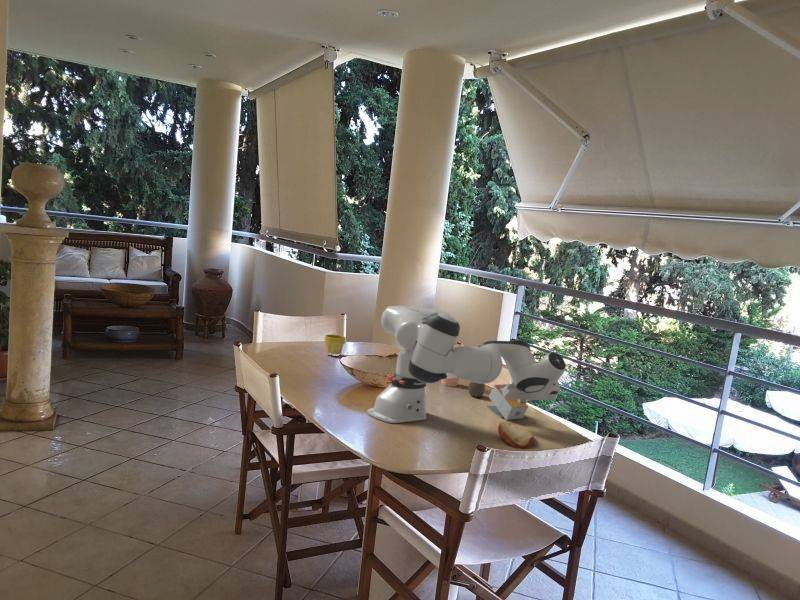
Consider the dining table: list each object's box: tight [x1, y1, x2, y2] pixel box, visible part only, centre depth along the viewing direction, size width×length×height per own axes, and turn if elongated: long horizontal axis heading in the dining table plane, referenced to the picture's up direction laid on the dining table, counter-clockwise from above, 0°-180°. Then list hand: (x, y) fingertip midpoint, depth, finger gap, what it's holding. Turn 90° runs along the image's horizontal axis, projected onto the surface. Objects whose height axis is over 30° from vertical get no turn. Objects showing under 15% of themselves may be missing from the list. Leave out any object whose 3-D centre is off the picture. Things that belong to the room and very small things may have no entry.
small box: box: [488, 383, 529, 421], centre depth 226 cm, size 8×6×13 cm
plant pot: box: [324, 333, 347, 355], centre depth 297 cm, size 10×10×10 cm
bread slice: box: [497, 421, 536, 450], centre depth 203 cm, size 18×18×4 cm
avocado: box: [468, 381, 486, 398], centre depth 250 cm, size 7×7×9 cm
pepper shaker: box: [440, 342, 461, 387], centre depth 264 cm, size 7×7×19 cm
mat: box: [486, 405, 529, 420], centre depth 231 cm, size 14×11×1 cm
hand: (521, 401), depth 221 cm, fingers closed
